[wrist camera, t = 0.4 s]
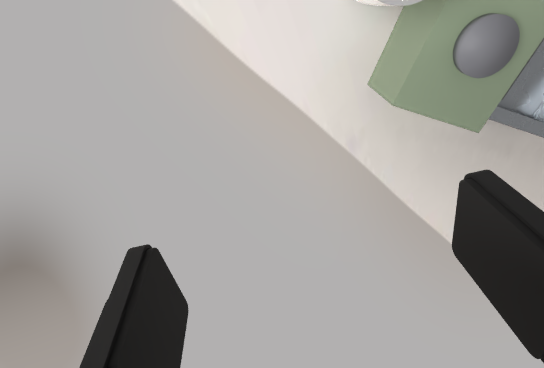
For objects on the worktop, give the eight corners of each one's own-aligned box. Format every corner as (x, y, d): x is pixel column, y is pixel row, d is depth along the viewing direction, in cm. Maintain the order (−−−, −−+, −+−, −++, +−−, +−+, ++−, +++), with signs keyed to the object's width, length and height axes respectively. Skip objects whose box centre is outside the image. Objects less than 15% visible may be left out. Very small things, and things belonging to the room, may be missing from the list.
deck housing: (437, -65, 30) (495, -77, 23) (527, -22, 32) (603, -22, 26) (367, 84, 37) (396, 109, 30) (446, 110, 39) (489, 138, 32)
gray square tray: (515, -13, 33) (538, -12, 30) (602, 27, 36) (630, 31, 33) (447, 101, 39) (461, 110, 36) (526, 128, 41) (544, 137, 39)
